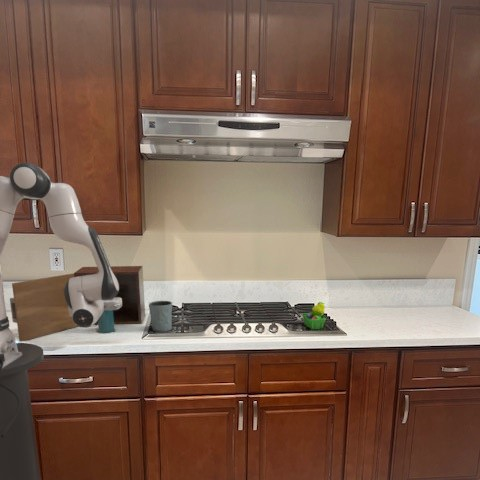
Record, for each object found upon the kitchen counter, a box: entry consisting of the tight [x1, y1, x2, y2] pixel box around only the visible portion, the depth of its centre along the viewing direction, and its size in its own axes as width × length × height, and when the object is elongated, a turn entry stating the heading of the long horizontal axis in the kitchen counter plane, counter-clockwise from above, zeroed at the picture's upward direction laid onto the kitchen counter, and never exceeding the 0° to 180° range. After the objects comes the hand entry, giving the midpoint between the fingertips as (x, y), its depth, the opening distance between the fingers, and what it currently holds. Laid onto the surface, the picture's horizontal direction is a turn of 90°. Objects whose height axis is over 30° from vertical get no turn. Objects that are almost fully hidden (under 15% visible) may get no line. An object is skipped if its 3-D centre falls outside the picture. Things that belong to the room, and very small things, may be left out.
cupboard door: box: [9, 273, 78, 343], centre depth 200 cm, size 7×28×24 cm, turn 146°
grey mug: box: [148, 300, 173, 333], centre depth 206 cm, size 10×10×12 cm
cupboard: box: [73, 265, 146, 326], centre depth 220 cm, size 18×28×24 cm, turn 96°
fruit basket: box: [301, 301, 327, 331], centre depth 210 cm, size 11×9×11 cm
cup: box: [97, 310, 115, 334], centre depth 204 cm, size 7×7×10 cm
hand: (98, 299), depth 189 cm, fingers open, 8 cm apart
